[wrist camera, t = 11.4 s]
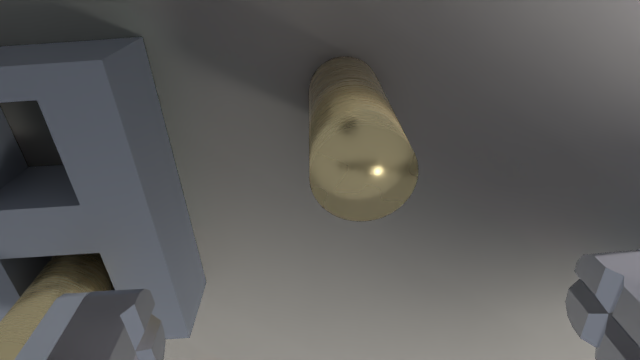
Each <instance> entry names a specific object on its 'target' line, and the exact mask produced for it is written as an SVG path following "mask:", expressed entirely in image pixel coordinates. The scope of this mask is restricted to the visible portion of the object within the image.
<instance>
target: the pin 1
mask: <svg viewBox="0 0 640 360" xmlns="http://www.w3.org/2000/svg"><path fill="white" fill-rule="evenodd" d="M113 288H114V286H113V284H112V282H111V279H110V277H109V274H108V272H107V269H106V267H105V265H104V262H103V260H102V257H101V255H100V253H89V254H73V255H57V256H53V257H52V258H51V260H50V261H49V262H48V263H47V264H46V266H45V267H44V268H43V269H42V271H41V272H40V273H39V274H38V276H37V277H36V278H35V279H34V281H33V282H32V283H31V284H30V285H29V287H28V288H27V289H26V290H25V292H24V293H23V294H22V295H21V297H20V298H19V299H18V300H17V302H16V303H15V304H14V305H13V306H12V308H11V309H10V310H9V311H8V313H7V314H6V315H5V316H4V318H3V319H2V320H1V321H0V360H14V359H15V358H16V356H17V355H18V353H19V352H20V351H21V349H22V348H23V346H24V345H25V343H26V342H27V340H28V339H29V337H30V336H31V335H32V333H33V332H34V330H35V329H36V327H37V326H38V324H39V323H40V321H41V320H42V318H43V317H44V316H45V314H46V313H47V311H48V310H49V308H50V307H51V305H52V304H53V302H54V301H55V300H56V298H58V297H60V296H61V295H63V294H65V293H85V292H92V291H110V290H113Z"/></svg>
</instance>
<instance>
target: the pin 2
mask: <svg viewBox="0 0 640 360" xmlns="http://www.w3.org/2000/svg"><path fill="white" fill-rule="evenodd" d="M417 178H418V163H417V159H416V156H415V153H414V151H413V149H412V147H411V145H410V143H409V141H408V139H407V137H406V135H405V133H404V131H403V129H402V127H401V125H400V123H399V121H398V119H397V117H396V115H395V113H394V111H393V109H392V107H391V105H390V103H389V101H388V99H387V97H386V95H385V93H384V91H383V89H382V87H381V85H380V83H379V81H378V79H377V77H376V76H375V74H374V72H373V70H372V69H371V68H370V67H369V66H368V65H367V64H366V63H364V62H363V61H361V60H359V59H357V58H353V57H337V58H333V59H331V60H329V61H327V62H325V63H324V64H323V65H321V66H320V67H319V68H318V69H317V71H316V72H315V73H314V75H313V77H312V79H311V82H310V87H309V180H310V186H311V190H312V192H313V195H314V197H315V198H316V200H317V201H318V203H319V204H320V205H321V206H322V207H323V208H324V209H325V210H327V211H328V212H330V213H331V214H333V215H335V216H337V217H339V218H342V219H346V220H350V221H371V220H375V219H379V218H382V217H384V216H387V215H389V214H391V213H392V212H394V211H396V210H397V209H398V208H400V207H401V206H402V205H403V204H404V203H405V202H406V201H407V199H408V198H409V197H410V195H411V194H412V192H413V190H414V188H415V186H416V182H417Z"/></svg>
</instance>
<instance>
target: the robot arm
mask: <svg viewBox="0 0 640 360" xmlns="http://www.w3.org/2000/svg"><path fill="white" fill-rule="evenodd" d="M574 271H575V273H576V274H577V276H578V277H579V280H578V281H577V282H575V283H574V284H573V285H572V286H571V287H570V288H569V290H568V293H567V297H566V301H565V302H566V309H567V316H568V318H569V320H570V323H571V325H572V327H573V328H574V330H575V331H576V333H577V334H578V336H579V337H580V338H581V339H583V340H584V341H586V342H588V343H589V344H591V345H593V346H594V347H596V351H595V359H596V360H640V249H638V250H630V251H618V252H607V253H595V254H584V255H583V256H582V257H581V258H580V259H579V260H578V262H577V264H576V267H575V270H574ZM154 306H155V302H154V299H153V297H152V294H151V291H150V290H147V289H129V290H110V291H92V292H85V293H65V294H63V295H61V296H60V297H58V298H56V300H55V301H54V302H53V304H52V305H51V307H50V308H49V310H48V311H47V313H46V314H45V316H44V317H43V318H42V320H41V321H40V323H39V324H38V326H37V327H36V329H35V330H34V332H33V333H32V335H31V336H30V337H29V339H28V340H27V342H26V343H25V345H24V346H23V348H22V349H21V351H20V352H19V353H18V355H17V356H16V358H15V359H14V360H164V352H165V333H164V328H163V325H162V322H161V320H159V319H158V318H157V317H155V316H154V315H152V311H153V308H154Z"/></svg>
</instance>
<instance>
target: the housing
mask: <svg viewBox="0 0 640 360" xmlns="http://www.w3.org/2000/svg"><path fill="white" fill-rule="evenodd" d="M33 100H37V102H38V104H39V106H40V109H41V111H42V114H43V116H44V119H45V121H46V123H47V126H48V128H49V131H50V133H51V136H52V138H53V140H54V143H55V145H56V148H57V150H58V153H59V155H60V158H61V160H62V162H63V165H51V166H36V167H28V165H27V163H26V161H25V159H24V157H23V155H22V152H21V150H20V148H19V146H18V144H17V142H16V139H15V137H14V135H13V133H12V131H11V129H10V126H9V124H8V122H7V120H6V118H5V115H4V113H3V111H2V109H1V107H0V321H1V320H2V319H3V318H4V316H5V315H6V314H7V313H8V311H9V310H10V309H11V308H12V306H13V305H14V304H15V303H16V302H17V300H18V299H19V298H20V297H21V295H22V294H23V293H24V292H25V290H26V289H27V288H28V287H29V285H30V284H31V283H32V282H33V281H34V279H35V278H36V277H37V276H38V274H39V273H40V272H41V271H42V269H43V268H44V267H45V266H46V264H47V263H48V262H49V261H50V260H51V258H52V257H53V256H57V255H73V254H89V253H100V255H101V257H102V260H103V262H104V265H105V267H106V269H107V272H108V274H109V277H110V279H111V282H112V284H113V286H114V288H113V290H129V289H147V290H150V291H151V294H152V297H153V299H154V302H155V306H154V308H153V311H152V315H154V316H155V317H157V318H158V319H159V320H161V322H162V325H163V328H164V333H165V339H176V338H190V335H191V332H192V328H193V325H194V322H195V318H196V315H197V312H198V308H199V305H200V302H201V298H202V295H203V292H204V288H205V285H206V279H205V275H204V271H203V267H202V263H201V260H200V256H199V252H198V248H197V244H196V241H195V237H194V233H193V229H192V225H191V221H190V218H189V214H188V210H187V206H186V202H185V198H184V195H183V191H182V187H181V183H180V179H179V175H178V172H177V168H176V164H175V160H174V156H173V152H172V149H171V145H170V141H169V137H168V133H167V129H166V126H165V122H164V118H163V114H162V110H161V106H160V103H159V99H158V95H157V91H156V87H155V83H154V80H153V76H152V72H151V68H150V64H149V61H148V57H147V53H146V49H145V45H144V41H143V38H142V37H133V38H118V39H103V40H88V41H74V42H59V43H44V44H29V45H15V46H0V103H3V102H18V101H33Z"/></svg>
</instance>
